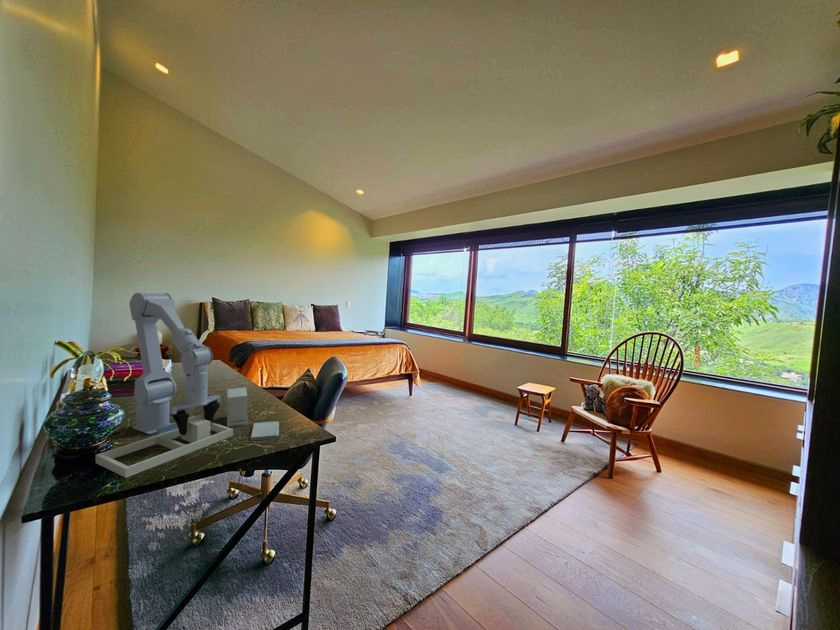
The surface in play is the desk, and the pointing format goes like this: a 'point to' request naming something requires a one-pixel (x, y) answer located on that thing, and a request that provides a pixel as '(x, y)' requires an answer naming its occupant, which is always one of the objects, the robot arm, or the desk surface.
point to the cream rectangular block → (196, 429)
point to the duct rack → (161, 438)
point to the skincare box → (236, 407)
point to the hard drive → (265, 430)
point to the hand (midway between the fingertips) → (195, 430)
